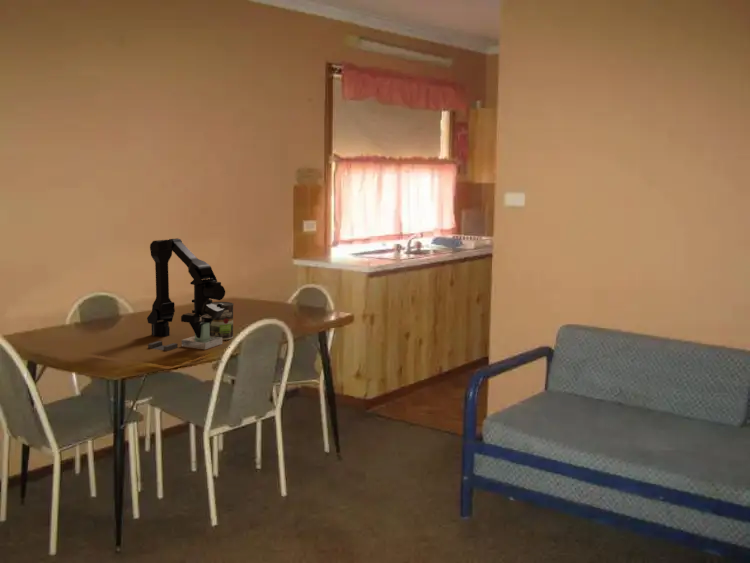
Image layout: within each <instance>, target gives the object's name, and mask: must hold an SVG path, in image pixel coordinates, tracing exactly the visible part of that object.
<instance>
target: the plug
mask: <svg viewBox="0 0 750 563" xmlns="http://www.w3.org/2000/svg"><path fill="white" fill-rule="evenodd" d="M201 321H204V319H201ZM194 336H195V340H202V341H205V340H208V339H210V323H207V322H203V323H202V325H201V335H200V338H197V336H196V334H195V333H194Z"/></svg>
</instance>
